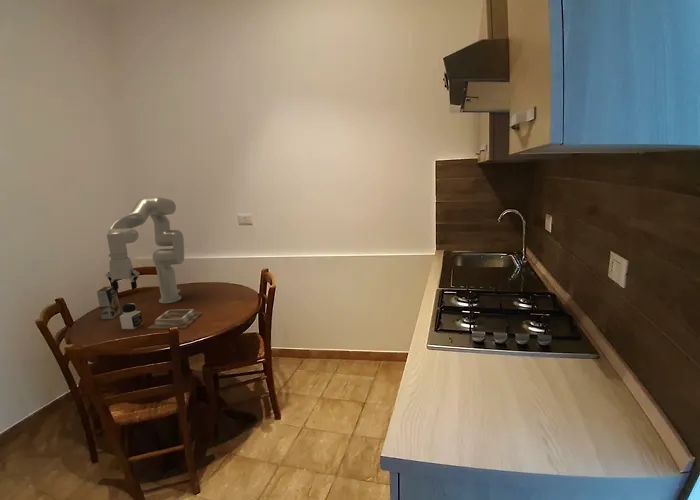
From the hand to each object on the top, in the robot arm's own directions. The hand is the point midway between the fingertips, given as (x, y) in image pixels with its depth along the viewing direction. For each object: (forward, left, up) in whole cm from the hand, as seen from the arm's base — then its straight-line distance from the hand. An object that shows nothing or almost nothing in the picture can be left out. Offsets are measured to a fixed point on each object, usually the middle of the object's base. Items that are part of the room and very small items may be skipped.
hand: (125, 289), depth 219 cm
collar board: (-5, +21, -20) cm, 30 cm away
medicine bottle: (0, 0, -20) cm, 20 cm away
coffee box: (-16, -22, -20) cm, 34 cm away
